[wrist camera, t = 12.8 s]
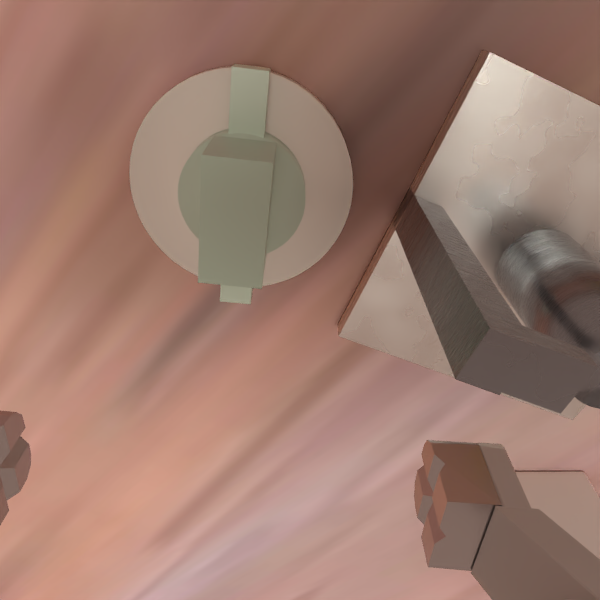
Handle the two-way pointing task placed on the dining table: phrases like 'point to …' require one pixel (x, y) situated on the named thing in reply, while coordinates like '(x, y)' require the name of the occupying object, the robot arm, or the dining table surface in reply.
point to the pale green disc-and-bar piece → (241, 192)
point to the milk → (566, 503)
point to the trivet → (215, 117)
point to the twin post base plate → (497, 247)
